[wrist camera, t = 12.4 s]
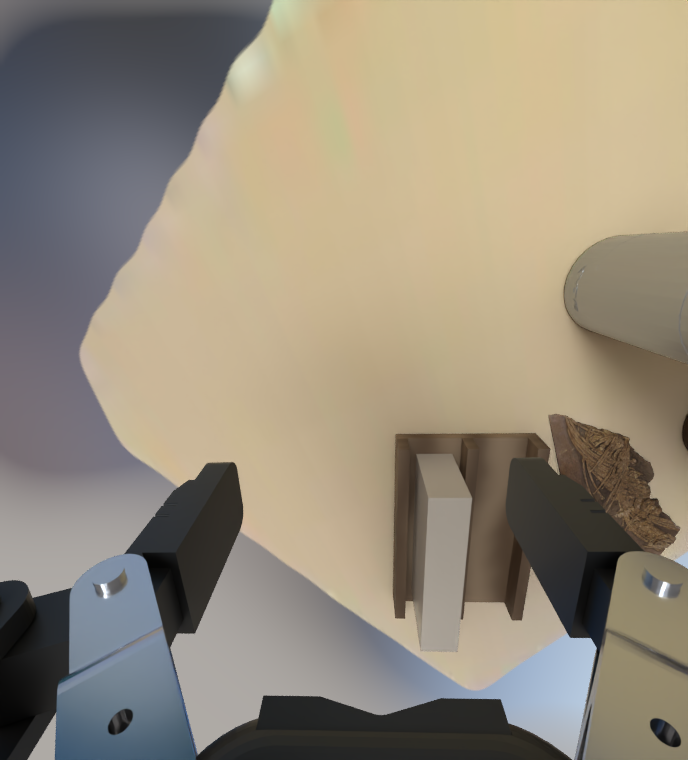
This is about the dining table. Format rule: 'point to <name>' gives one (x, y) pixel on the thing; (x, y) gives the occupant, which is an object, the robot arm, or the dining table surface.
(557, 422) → the wooden fragment
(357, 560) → the dining table surface
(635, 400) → the dining table surface
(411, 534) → the rack
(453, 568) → the gray rectangular block
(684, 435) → the olive oil
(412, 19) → the dining table surface
